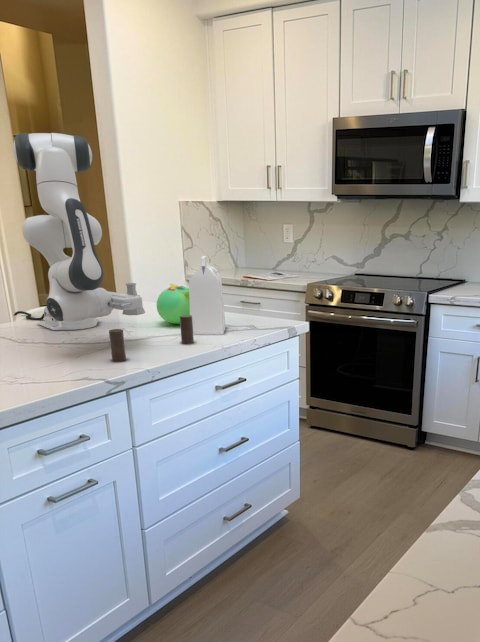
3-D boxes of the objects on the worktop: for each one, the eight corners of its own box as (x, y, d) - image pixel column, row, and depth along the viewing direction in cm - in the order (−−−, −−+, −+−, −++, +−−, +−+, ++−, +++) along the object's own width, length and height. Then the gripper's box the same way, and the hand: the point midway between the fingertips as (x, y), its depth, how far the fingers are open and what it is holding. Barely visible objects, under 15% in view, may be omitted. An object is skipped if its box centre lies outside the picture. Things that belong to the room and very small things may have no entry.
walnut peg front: (109, 360, 181) (105, 330, 178) (120, 357, 184) (116, 328, 181) (118, 362, 179) (114, 332, 176) (129, 359, 182) (125, 330, 179)
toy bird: (168, 318, 242) (165, 280, 236) (209, 319, 240) (207, 281, 234) (151, 327, 225) (147, 287, 220) (195, 329, 223) (192, 288, 218)
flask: (138, 316, 198) (135, 285, 194) (118, 315, 199) (115, 284, 196) (149, 312, 205) (146, 282, 201) (129, 311, 206) (126, 281, 202)
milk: (194, 327, 226) (189, 255, 217) (225, 327, 227) (221, 255, 218) (190, 334, 215) (184, 258, 206) (223, 334, 216) (219, 258, 206)
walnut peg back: (179, 343, 203) (177, 316, 199) (187, 340, 206) (186, 314, 202) (187, 344, 201) (185, 317, 197) (196, 342, 204) (194, 315, 200)
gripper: (119, 295, 184) (155, 290, 194) (77, 289, 194) (113, 284, 205) (121, 316, 186) (156, 310, 197) (80, 308, 196) (115, 303, 207)
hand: (134, 296), depth 201 cm, fingers closed on flask, 3 cm apart
